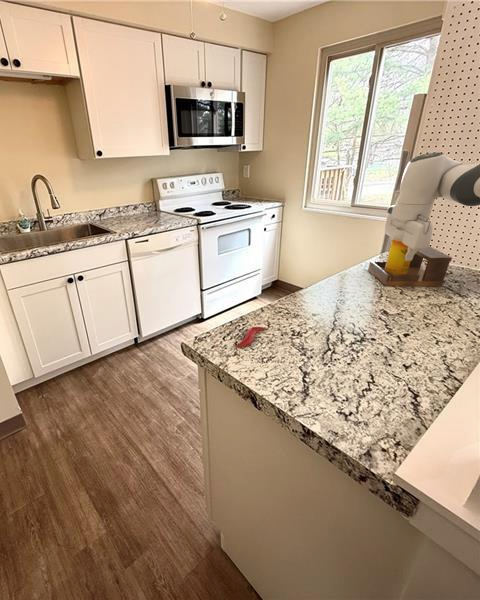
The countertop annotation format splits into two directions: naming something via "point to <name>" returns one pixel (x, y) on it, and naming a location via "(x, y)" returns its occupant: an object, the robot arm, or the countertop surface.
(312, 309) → the countertop surface
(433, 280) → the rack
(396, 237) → the beer can
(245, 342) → the cayenne pepper
